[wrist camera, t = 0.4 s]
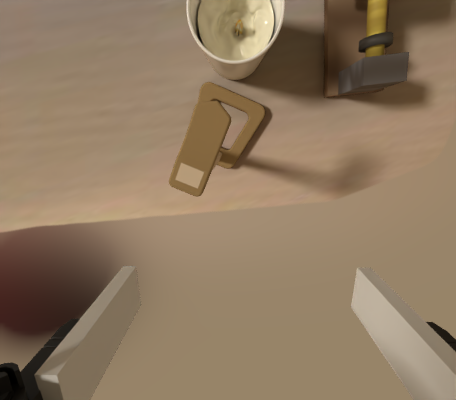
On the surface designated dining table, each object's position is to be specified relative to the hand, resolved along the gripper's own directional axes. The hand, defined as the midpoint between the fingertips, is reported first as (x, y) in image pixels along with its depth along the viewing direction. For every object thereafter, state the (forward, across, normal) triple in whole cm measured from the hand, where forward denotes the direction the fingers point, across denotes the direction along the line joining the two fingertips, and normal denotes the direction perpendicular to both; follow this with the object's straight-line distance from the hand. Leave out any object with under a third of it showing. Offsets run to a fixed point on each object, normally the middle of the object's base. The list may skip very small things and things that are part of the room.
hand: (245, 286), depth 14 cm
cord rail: (+28, +16, +24) cm, 40 cm away
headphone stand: (+28, -2, +9) cm, 29 cm away
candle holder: (+28, 0, +21) cm, 35 cm away
